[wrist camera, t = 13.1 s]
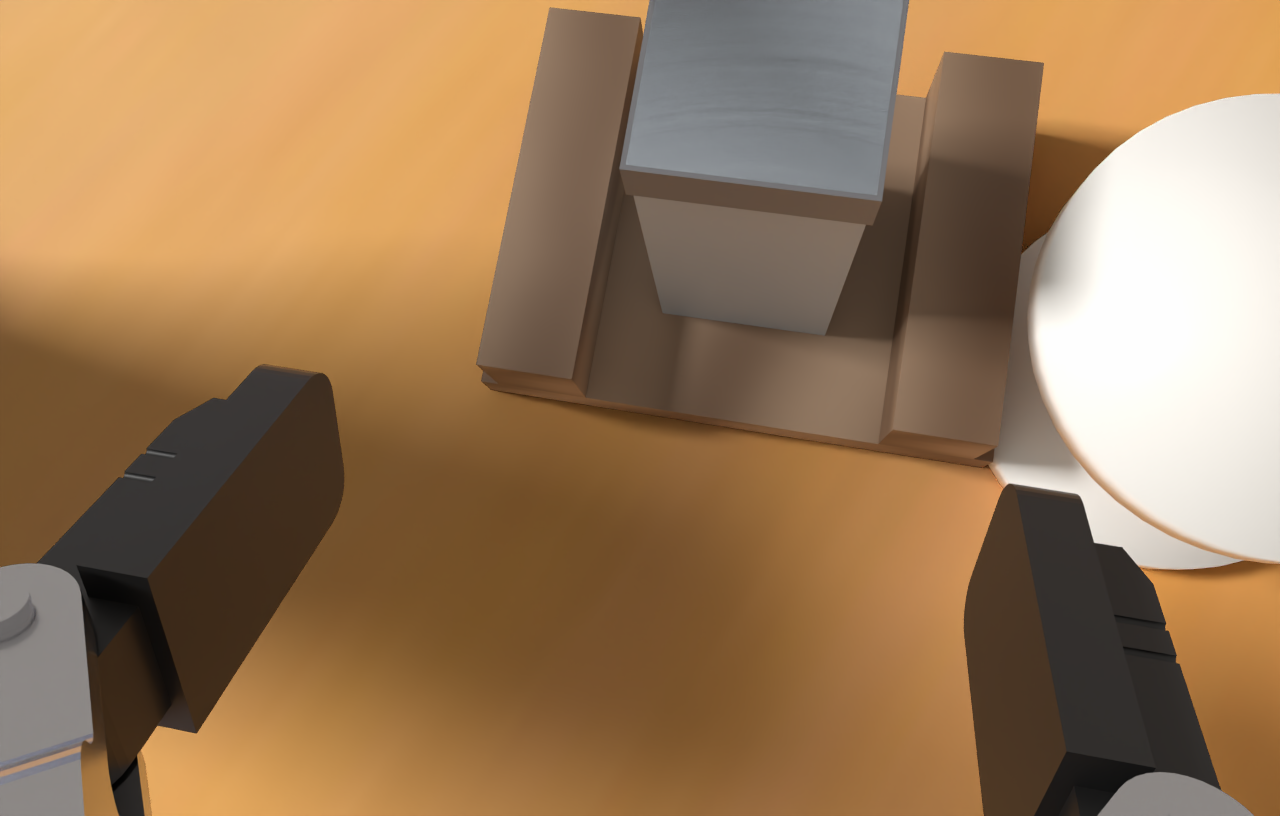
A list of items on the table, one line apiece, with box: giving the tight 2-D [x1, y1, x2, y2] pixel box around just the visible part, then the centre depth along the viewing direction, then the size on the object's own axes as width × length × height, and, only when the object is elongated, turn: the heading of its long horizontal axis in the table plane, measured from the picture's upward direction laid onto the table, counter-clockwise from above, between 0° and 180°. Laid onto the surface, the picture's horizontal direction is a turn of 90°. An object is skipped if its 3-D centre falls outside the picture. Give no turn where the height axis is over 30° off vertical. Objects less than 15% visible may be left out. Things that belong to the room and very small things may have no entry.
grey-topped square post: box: [619, 0, 909, 336], centre depth 23 cm, size 5×5×10 cm
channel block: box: [476, 8, 1044, 468], centre depth 27 cm, size 14×10×4 cm
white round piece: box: [988, 94, 1280, 570], centre depth 24 cm, size 10×10×7 cm
